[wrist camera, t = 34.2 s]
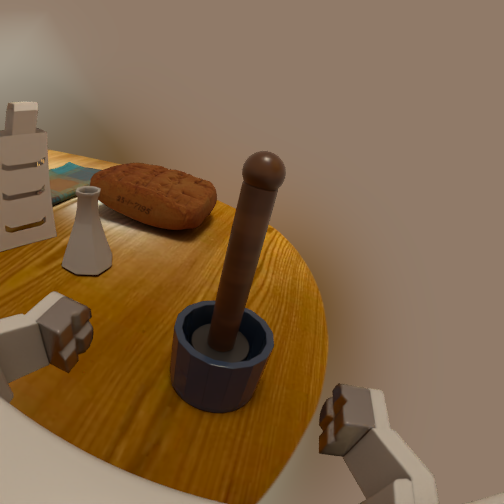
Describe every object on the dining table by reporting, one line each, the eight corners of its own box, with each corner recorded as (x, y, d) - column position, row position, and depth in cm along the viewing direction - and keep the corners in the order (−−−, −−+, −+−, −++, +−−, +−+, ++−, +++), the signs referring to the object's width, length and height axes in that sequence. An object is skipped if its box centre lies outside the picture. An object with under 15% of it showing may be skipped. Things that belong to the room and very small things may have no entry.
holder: (268, 404, 25) (290, 359, 22) (181, 418, 21) (188, 373, 19) (237, 344, 31) (251, 298, 28) (163, 350, 27) (167, 301, 25)
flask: (101, 282, 34) (102, 203, 29) (53, 269, 33) (49, 194, 28) (120, 254, 40) (125, 186, 36) (76, 245, 39) (77, 178, 35)
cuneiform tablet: (80, 213, 48) (82, 170, 45) (127, 190, 64) (132, 156, 60) (190, 247, 47) (198, 199, 44) (219, 215, 63) (227, 178, 59)
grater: (37, 213, 44) (44, 100, 36) (56, 236, 40) (64, 102, 31) (-13, 225, 36) (-13, 104, 27) (-3, 252, 31) (-7, 106, 23)
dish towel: (116, 181, 68) (117, 171, 67) (50, 209, 47) (50, 196, 46) (68, 169, 69) (68, 160, 68) (3, 192, 48) (2, 181, 47)
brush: (247, 390, 25) (323, 169, 17) (194, 397, 23) (247, 153, 15) (229, 352, 29) (284, 150, 21) (181, 356, 27) (219, 138, 18)
